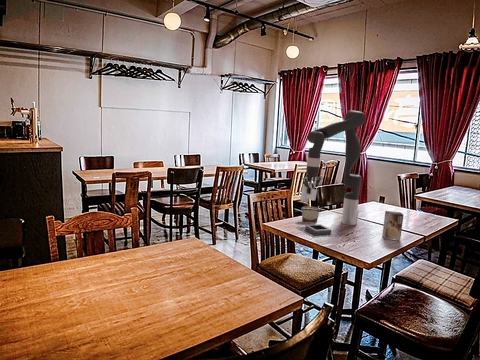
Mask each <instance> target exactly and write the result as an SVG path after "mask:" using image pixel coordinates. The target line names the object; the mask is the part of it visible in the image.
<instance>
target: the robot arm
mask: <svg viewBox="0 0 480 360" xmlns="http://www.w3.org/2000/svg"><path fill="white" fill-rule="evenodd" d="M366 119H367V118H366V114H365V113H364V112H362V111H358V110H353V109H351V110H347V112H346V114H345V117H344V120H342V121H337V122H334V123H330V124H328V125H326V126H323V127H322V128H318V129H314V130H312V131H310V132H309V133H308V135H307V136H306V137H307V138H306V139H307V141H308V142H309V143H311V144H313V145H312V147H310V148H309V149H308V154H307V160H306V161H307V162H306V169H305V172H306V175H305V177H302V182H303V184H304V185H305V187H307V194H310V193H311V187H312V188H314V189H315V188H317V187H318V186H319V184H320V182H321V180H322V178H321V177H319V173H320V166H321V152H322V149H323V146H324V143H325V141H326V140H325V139H329V138H332V137H334V136H336V135H339V134H341V133H343V132H345V152H344V153H345V154H344V155H345V158H344V159H345V163H344V164H345V166H344V176H343V186H344V187H345V188H349V189H353V191H351V192H346V193H344V198H343V206H342V214H341V215H342V216H341V223H342V224H343V225H347V226H355V225H358V218H359V210H358V208H359V200H360V194H361V187H362V182H363V178H362V176H361V175H359V174H354V173H352V169H353V167H354V166H355V165H356V163H357V162H358V160H359V159H360V158H361V149H362V148H361V147H362V146H361V142H360V140H359V138H358V136H357V132H356V128H358V127H361V126H363V125H364V124H365V123H366Z"/></svg>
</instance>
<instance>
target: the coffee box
mask: <svg viewBox="0 0 480 360" xmlns="http://www.w3.org/2000/svg"><path fill="white" fill-rule="evenodd" d="M403 222H404V214H403V212H399V211H392V210H385V211H384V218H383V226H382V237H384V238H385V239H384V238H383V239H384V240H388V239H396V240H395V241H398V240H400V241H401V238H402V230H403Z"/></svg>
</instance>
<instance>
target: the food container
mask: <svg viewBox="0 0 480 360" xmlns="http://www.w3.org/2000/svg"><path fill="white" fill-rule="evenodd" d="M300 209H301V210H300V211H301V217H302V218H301V222H302V223H305V222H310V223H318V219H319V216H320V215H319V214H320V213H321V210H320V208H318V207H316V206H310V205H309V206H308V205H307V206H302V207H301V208H300Z"/></svg>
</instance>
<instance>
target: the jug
mask: <svg viewBox="0 0 480 360" xmlns="http://www.w3.org/2000/svg"><path fill="white" fill-rule="evenodd" d="M317 193H318V189H314V188H312V187H311V193H310V194H307V187H305V185H304V183H303V184H302V187H301V193H300V196H299V201H301V202H304V203H307V202H309V200H311V201H316V198H317Z"/></svg>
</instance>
